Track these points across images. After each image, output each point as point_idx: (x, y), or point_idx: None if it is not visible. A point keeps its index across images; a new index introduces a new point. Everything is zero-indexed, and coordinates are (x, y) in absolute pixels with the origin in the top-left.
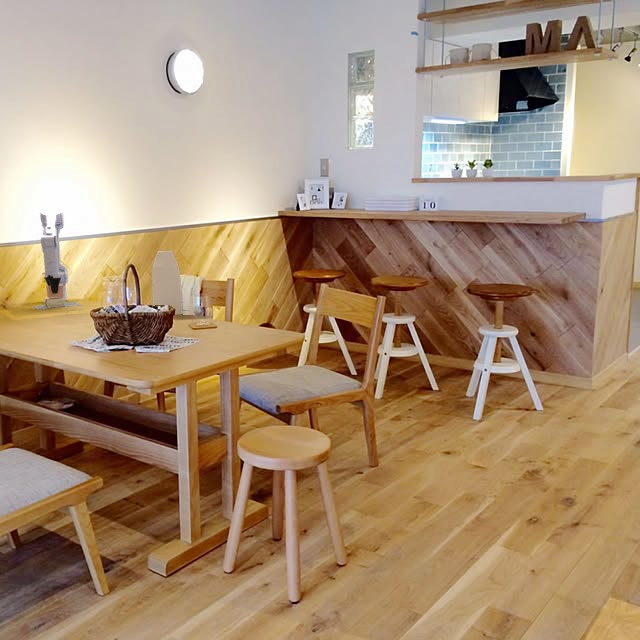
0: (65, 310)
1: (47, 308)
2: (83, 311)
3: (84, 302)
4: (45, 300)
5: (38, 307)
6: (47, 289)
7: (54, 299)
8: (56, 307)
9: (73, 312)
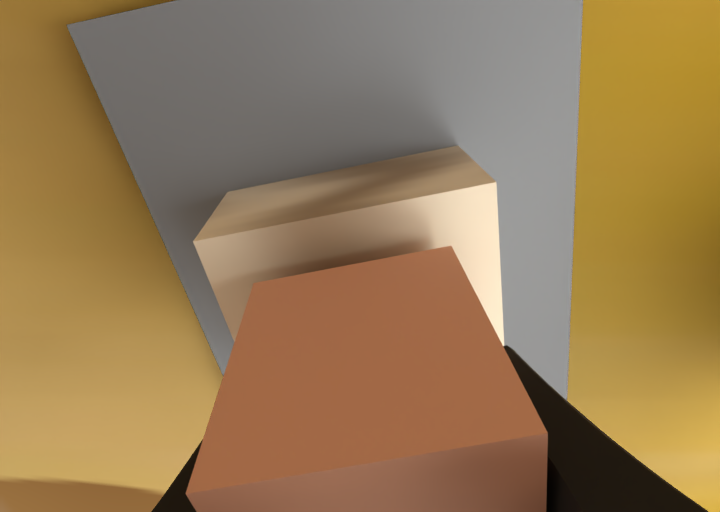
0: (208, 343)
1: (141, 176)
2: (66, 468)
3: (686, 476)
4: (405, 187)
5: (330, 37)
6: (394, 369)
7: (232, 334)
8: (199, 285)
9: (19, 403)
